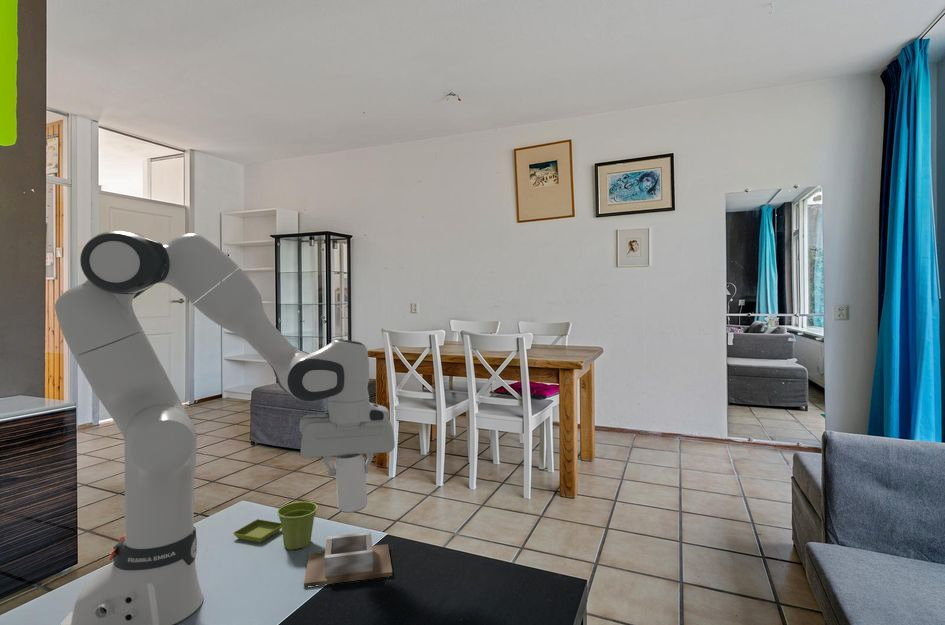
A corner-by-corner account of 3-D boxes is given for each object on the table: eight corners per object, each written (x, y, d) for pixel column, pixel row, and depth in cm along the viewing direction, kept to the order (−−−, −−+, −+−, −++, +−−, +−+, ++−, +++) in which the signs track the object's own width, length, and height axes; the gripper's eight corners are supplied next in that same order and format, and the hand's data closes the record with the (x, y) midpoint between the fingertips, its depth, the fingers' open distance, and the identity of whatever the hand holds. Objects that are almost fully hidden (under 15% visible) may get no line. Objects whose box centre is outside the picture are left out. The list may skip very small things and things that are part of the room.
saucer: (284, 531, 127) (284, 523, 127) (260, 546, 119) (260, 538, 119) (257, 526, 130) (257, 518, 130) (232, 541, 122) (232, 533, 122)
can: (360, 513, 105) (356, 458, 105) (332, 513, 107) (328, 458, 106) (372, 501, 112) (368, 449, 111) (345, 500, 113) (342, 449, 113)
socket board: (303, 590, 100) (303, 563, 100) (309, 559, 113) (309, 535, 113) (392, 578, 105) (392, 553, 105) (387, 550, 117) (387, 527, 117)
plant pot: (324, 537, 123) (324, 502, 123) (305, 555, 114) (305, 518, 114) (290, 534, 125) (290, 500, 125) (269, 552, 116) (268, 515, 115)
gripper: (298, 416, 103) (297, 482, 103) (395, 412, 108) (395, 474, 108) (300, 411, 109) (300, 473, 109) (392, 407, 114) (392, 466, 114)
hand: (348, 473), depth 109 cm, fingers closed on can, 6 cm apart
